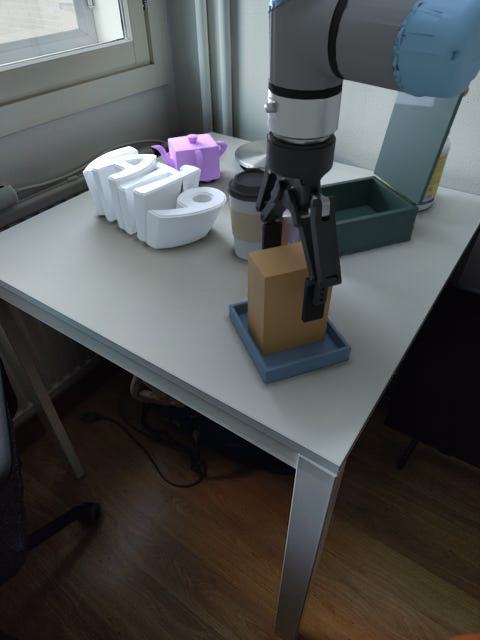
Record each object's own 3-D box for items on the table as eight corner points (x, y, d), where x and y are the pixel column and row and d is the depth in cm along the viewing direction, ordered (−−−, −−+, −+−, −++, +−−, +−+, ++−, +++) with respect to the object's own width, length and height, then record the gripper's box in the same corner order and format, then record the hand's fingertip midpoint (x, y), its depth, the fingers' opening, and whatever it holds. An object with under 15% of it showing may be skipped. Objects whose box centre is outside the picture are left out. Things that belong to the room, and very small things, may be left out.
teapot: (161, 194, 106) (155, 151, 99) (150, 170, 116) (144, 129, 109) (235, 183, 110) (234, 140, 103) (219, 161, 120) (217, 120, 113)
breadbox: (318, 261, 85) (322, 227, 81) (284, 222, 96) (286, 191, 91) (410, 240, 90) (418, 207, 86) (368, 206, 101) (374, 175, 96)
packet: (324, 339, 69) (336, 261, 60) (262, 356, 66) (264, 277, 57) (306, 314, 73) (315, 238, 64) (247, 330, 71) (247, 252, 61)
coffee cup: (278, 264, 84) (282, 187, 75) (228, 264, 85) (226, 187, 75) (275, 238, 91) (279, 164, 81) (230, 238, 91) (228, 164, 81)
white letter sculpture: (78, 201, 104) (66, 154, 97) (140, 179, 112) (133, 135, 105) (170, 266, 84) (163, 214, 77) (237, 233, 93) (236, 184, 86)
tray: (348, 359, 66) (351, 347, 65) (265, 384, 63) (265, 372, 61) (302, 298, 77) (304, 286, 75) (229, 316, 74) (228, 304, 72)
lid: (465, 80, 72) (494, 82, 74) (407, 59, 83) (434, 61, 85) (417, 205, 85) (443, 204, 87) (373, 173, 96) (397, 172, 98)
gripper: (230, 103, 58) (234, 248, 72) (325, 184, 40) (305, 355, 54) (285, 96, 59) (278, 238, 74) (398, 171, 42) (361, 340, 56)
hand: (289, 288), depth 64 cm, fingers open, 13 cm apart
